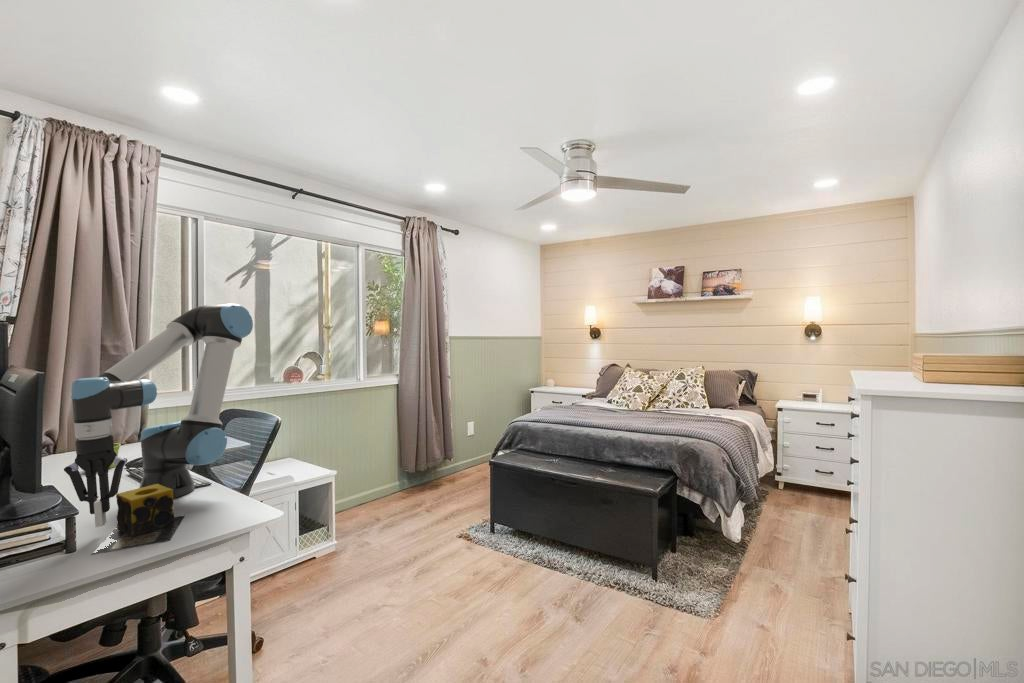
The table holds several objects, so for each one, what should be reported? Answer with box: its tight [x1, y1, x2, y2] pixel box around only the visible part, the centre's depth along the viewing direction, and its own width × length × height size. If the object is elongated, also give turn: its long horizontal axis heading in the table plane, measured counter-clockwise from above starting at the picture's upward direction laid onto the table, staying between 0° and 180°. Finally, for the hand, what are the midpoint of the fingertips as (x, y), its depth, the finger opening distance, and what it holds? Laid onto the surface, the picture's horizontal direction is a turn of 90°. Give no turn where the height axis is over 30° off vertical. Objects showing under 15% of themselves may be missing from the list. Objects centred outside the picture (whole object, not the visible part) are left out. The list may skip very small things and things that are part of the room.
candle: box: [115, 484, 175, 537], centre depth 132 cm, size 10×10×10 cm
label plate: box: [96, 515, 186, 554], centre depth 129 cm, size 18×16×1 cm
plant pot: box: [108, 442, 121, 469], centre depth 195 cm, size 9×9×9 cm
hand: (101, 524), depth 129 cm, fingers closed
